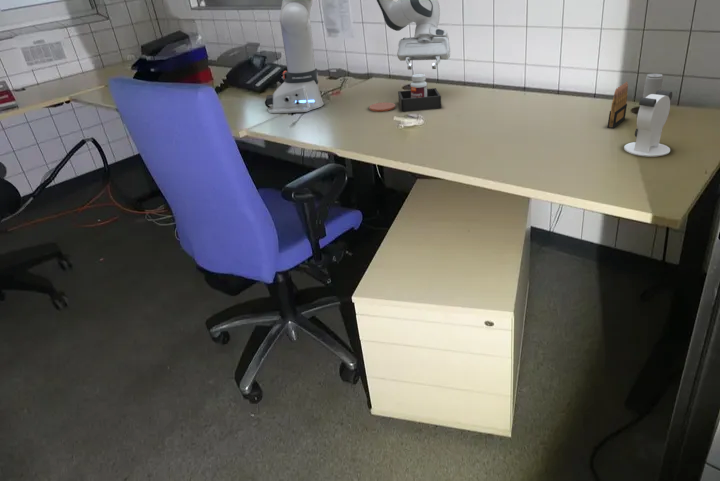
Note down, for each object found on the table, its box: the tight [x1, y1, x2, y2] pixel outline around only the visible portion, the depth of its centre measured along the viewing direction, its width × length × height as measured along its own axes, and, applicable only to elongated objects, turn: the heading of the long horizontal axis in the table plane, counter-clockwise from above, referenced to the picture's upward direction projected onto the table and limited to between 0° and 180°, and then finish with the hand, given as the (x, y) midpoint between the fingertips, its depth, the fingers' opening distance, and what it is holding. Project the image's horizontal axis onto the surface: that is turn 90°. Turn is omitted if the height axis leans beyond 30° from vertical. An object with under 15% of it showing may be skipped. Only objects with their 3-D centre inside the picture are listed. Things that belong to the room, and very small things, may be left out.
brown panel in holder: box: [607, 81, 629, 129], centre depth 169 cm, size 11×2×12 cm, turn 140°
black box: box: [397, 87, 442, 112], centre depth 207 cm, size 15×13×4 cm
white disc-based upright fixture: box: [623, 89, 673, 158], centre depth 147 cm, size 12×11×15 cm
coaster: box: [368, 101, 396, 113], centre depth 209 cm, size 10×10×1 cm
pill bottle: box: [410, 73, 428, 98], centre depth 206 cm, size 6×6×11 cm
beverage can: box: [642, 73, 664, 98], centre depth 176 cm, size 5×5×12 cm
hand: (421, 68), depth 208 cm, fingers open, 8 cm apart
